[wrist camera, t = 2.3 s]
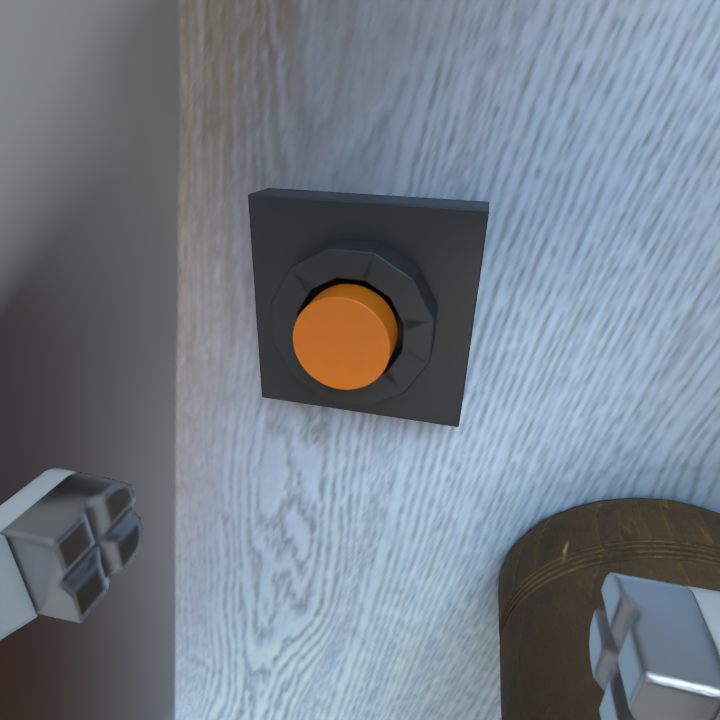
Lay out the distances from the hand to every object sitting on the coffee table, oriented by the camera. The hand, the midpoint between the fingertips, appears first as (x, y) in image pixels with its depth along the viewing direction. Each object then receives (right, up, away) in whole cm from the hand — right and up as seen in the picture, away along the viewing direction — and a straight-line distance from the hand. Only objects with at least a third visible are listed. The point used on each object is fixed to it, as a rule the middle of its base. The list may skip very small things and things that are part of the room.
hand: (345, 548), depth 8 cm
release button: (0, +5, +12) cm, 13 cm away
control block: (+1, +6, +16) cm, 17 cm away
